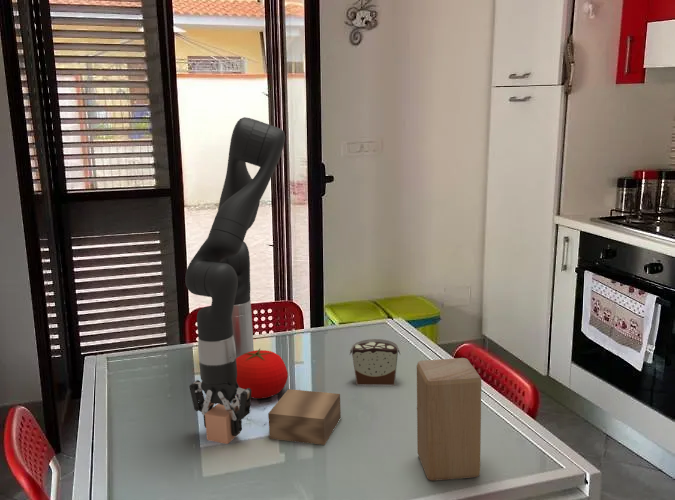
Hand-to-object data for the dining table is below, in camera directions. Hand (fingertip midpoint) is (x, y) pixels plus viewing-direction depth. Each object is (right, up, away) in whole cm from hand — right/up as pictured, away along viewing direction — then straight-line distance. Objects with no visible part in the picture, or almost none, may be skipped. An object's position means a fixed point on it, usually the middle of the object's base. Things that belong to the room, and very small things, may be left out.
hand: (223, 431), depth 139 cm
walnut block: (+17, 0, +3) cm, 18 cm away
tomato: (+5, +3, +20) cm, 21 cm away
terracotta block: (0, -1, 0) cm, 1 cm away
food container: (+34, +6, +25) cm, 43 cm away
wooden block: (+45, -3, -14) cm, 47 cm away
